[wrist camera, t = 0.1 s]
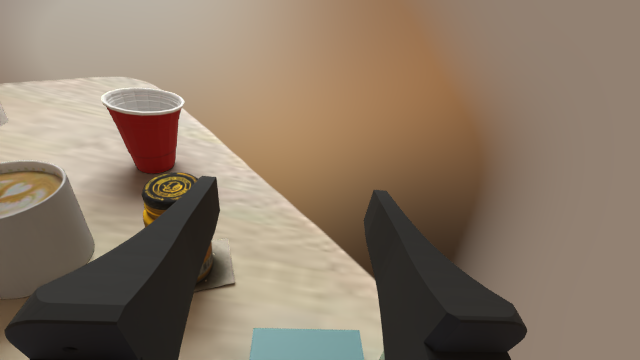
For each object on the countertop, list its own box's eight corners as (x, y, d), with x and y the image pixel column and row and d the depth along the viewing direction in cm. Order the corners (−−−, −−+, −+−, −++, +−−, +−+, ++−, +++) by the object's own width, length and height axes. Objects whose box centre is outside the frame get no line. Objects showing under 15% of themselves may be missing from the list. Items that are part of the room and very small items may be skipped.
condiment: (156, 250, 36) (136, 168, 29) (228, 239, 39) (224, 162, 33) (151, 302, 31) (125, 216, 24) (235, 284, 34) (232, 204, 27)
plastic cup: (202, 170, 51) (196, 103, 44) (133, 190, 44) (113, 116, 38) (176, 143, 57) (167, 81, 50) (111, 158, 50) (91, 88, 43)
